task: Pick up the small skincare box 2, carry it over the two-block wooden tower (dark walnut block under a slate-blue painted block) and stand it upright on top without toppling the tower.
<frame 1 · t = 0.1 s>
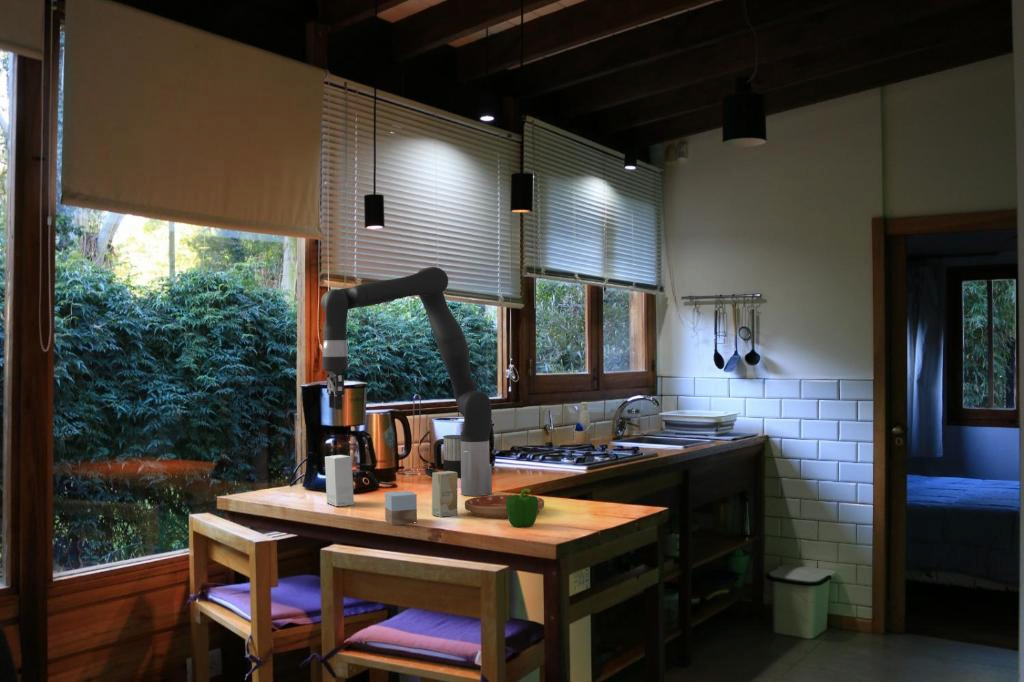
hand: (335, 408, 278), 29 cm above the worktop, fingers open, 8 cm apart
skincare box 2: (445, 515, 260), on the worktop
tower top: (400, 508, 251), point 4 cm above the worktop, touching tower base
saucer: (504, 513, 263), on the worktop
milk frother: (446, 478, 332), on the worktop
tower base: (401, 522, 251), on the worktop, touching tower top
bell pepper: (521, 526, 244), on the worktop
skincare box: (339, 505, 278), on the worktop
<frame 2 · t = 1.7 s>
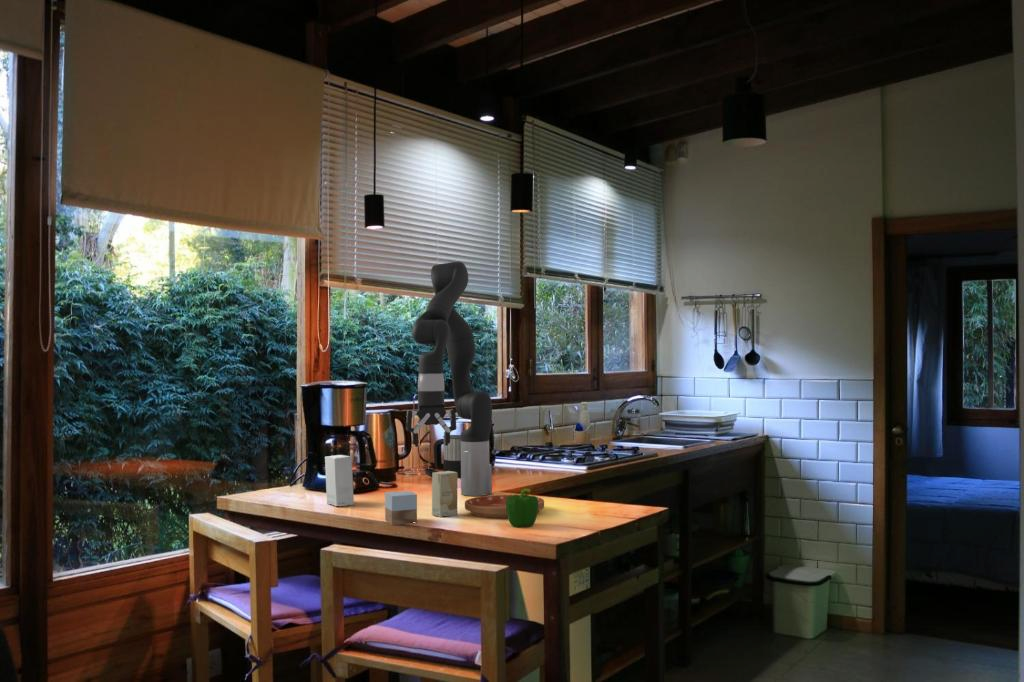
hand: (431, 446, 261), 19 cm above the worktop, fingers open, 8 cm apart
nothing on the worktop moved.
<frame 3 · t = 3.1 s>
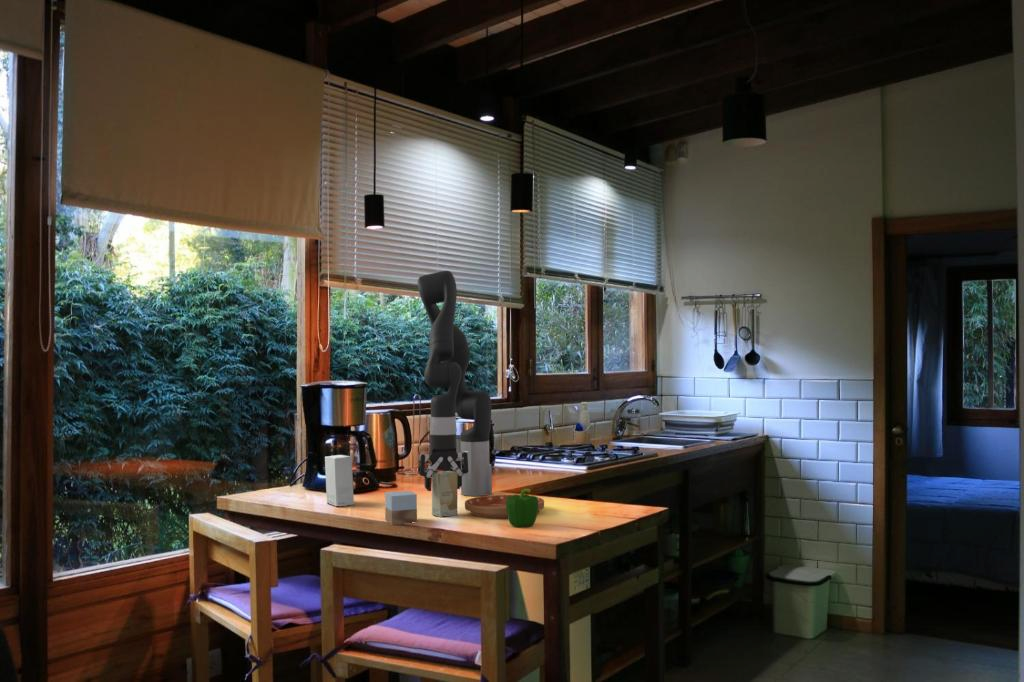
hand: (443, 489, 260), 7 cm above the worktop, fingers open, 8 cm apart
skincare box 2: (445, 515, 260), on the worktop, touching gripper
everything else where it was.
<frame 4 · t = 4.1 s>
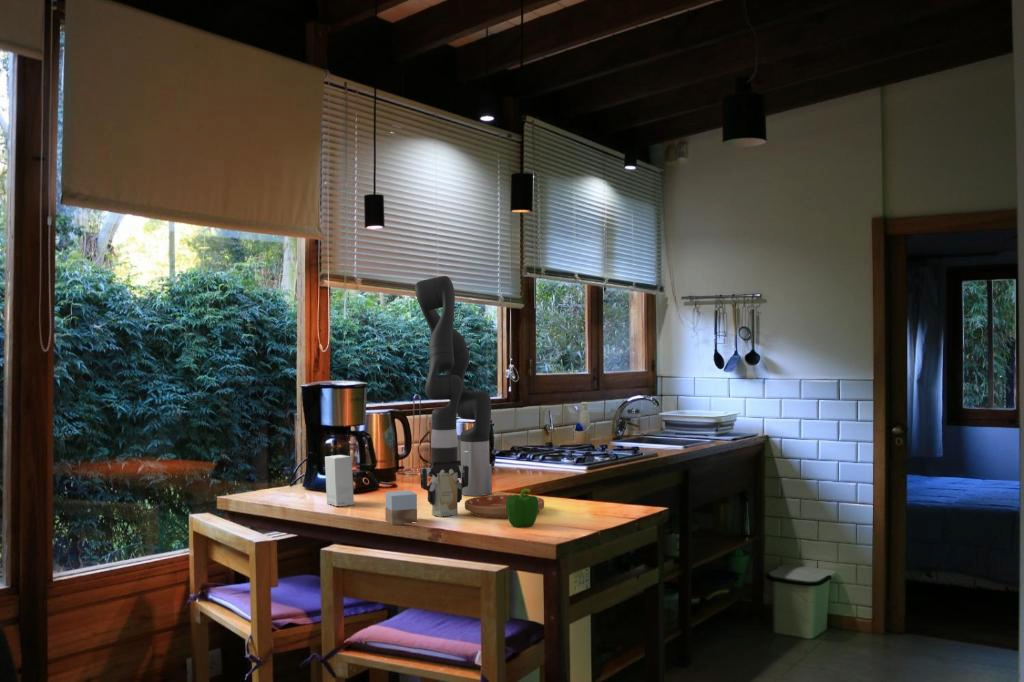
hand: (444, 503, 260), 3 cm above the worktop, fingers closed on skincare box 2, 7 cm apart
skincare box 2: (445, 515, 260), on the worktop, touching gripper
everything else where it was.
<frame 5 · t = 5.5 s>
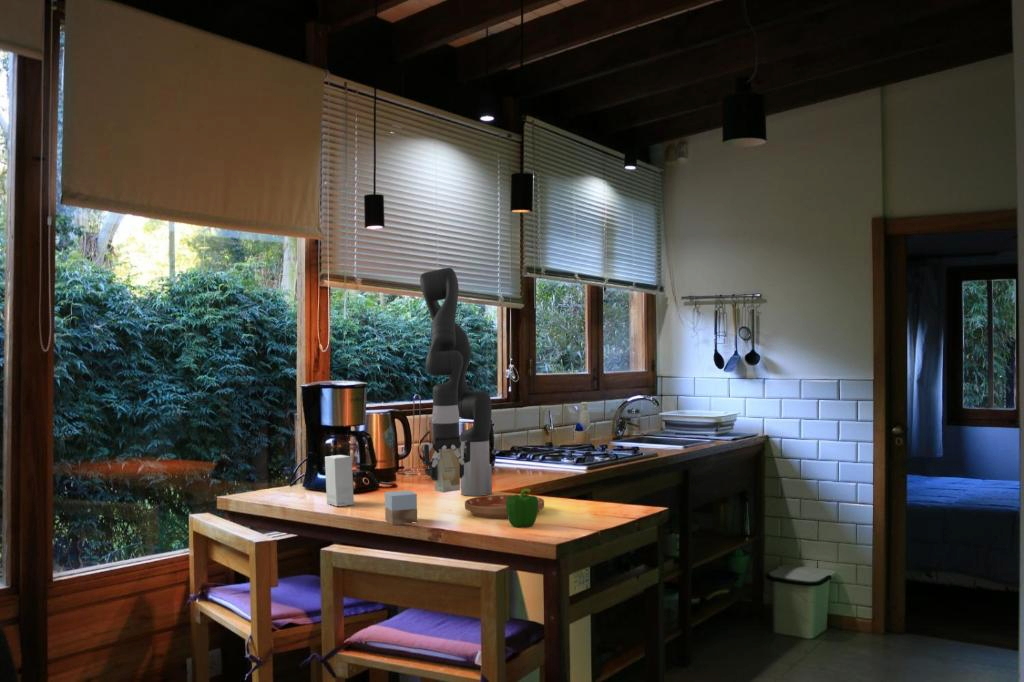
hand: (447, 478, 260), 10 cm above the worktop, fingers closed on skincare box 2, 7 cm apart
skincare box 2: (447, 491, 260), point 7 cm above the worktop, touching gripper
everything else where it was.
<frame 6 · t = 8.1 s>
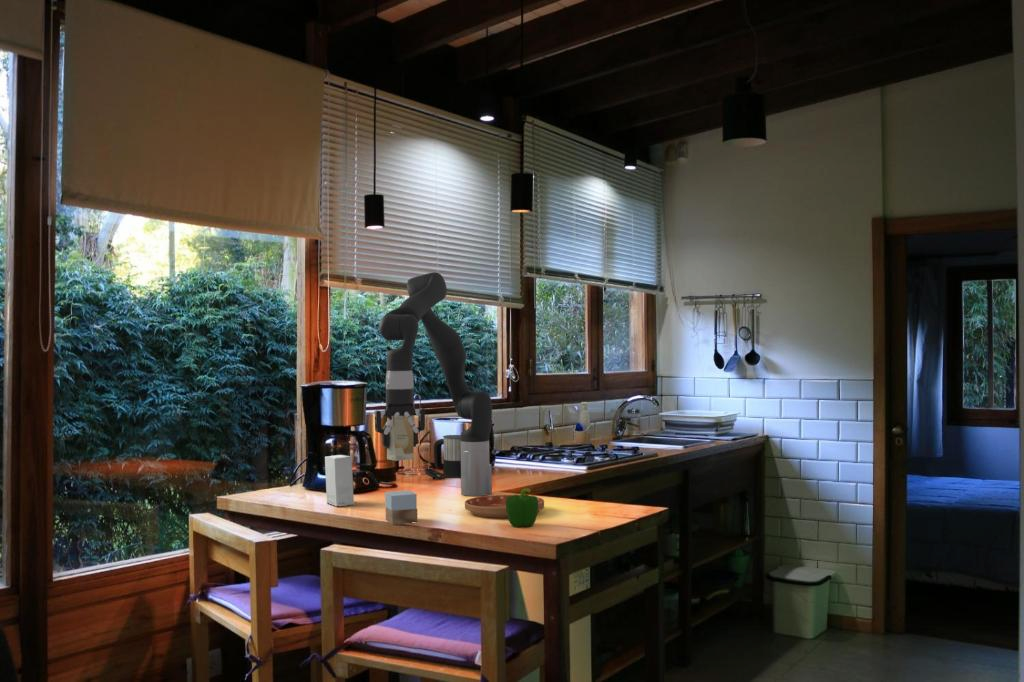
hand: (400, 447, 251), 20 cm above the worktop, fingers closed on skincare box 2, 7 cm apart
skincare box 2: (400, 460, 251), point 17 cm above the worktop, touching gripper
everything else where it was.
when the fingers open (12 cm above the worktop, at t = 10.5 s): skincare box 2 drops 1 cm, resting on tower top.
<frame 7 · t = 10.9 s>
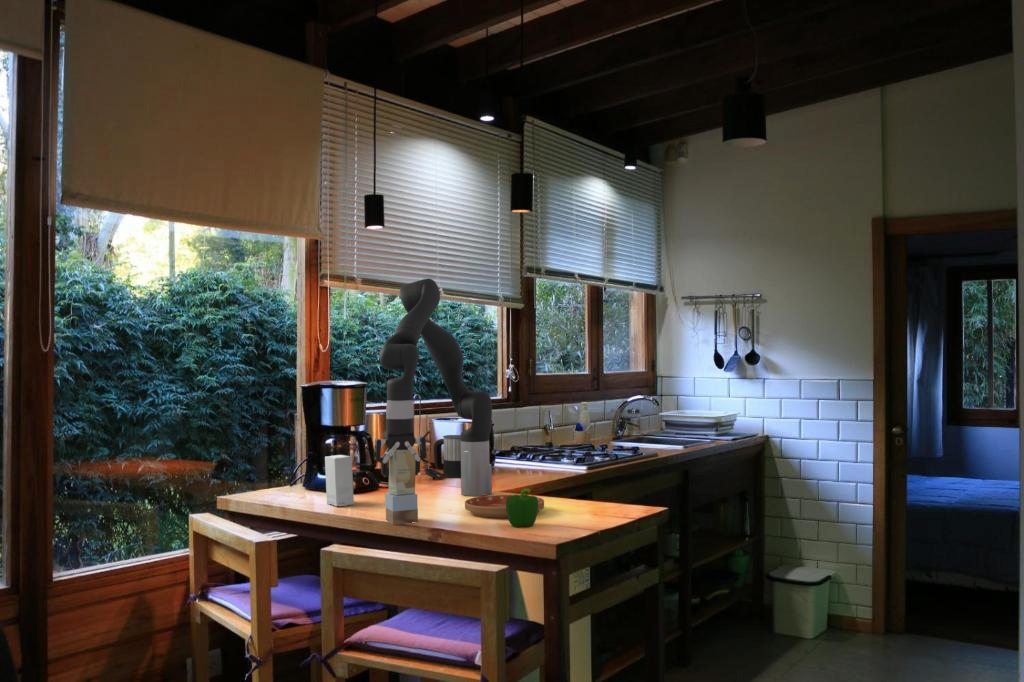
hand: (400, 475, 251), 13 cm above the worktop, fingers open, 8 cm apart
skincare box 2: (402, 494, 251), point 7 cm above the worktop, touching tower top
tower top: (401, 508, 251), point 4 cm above the worktop, touching skincare box 2, tower base
everything else where it was.
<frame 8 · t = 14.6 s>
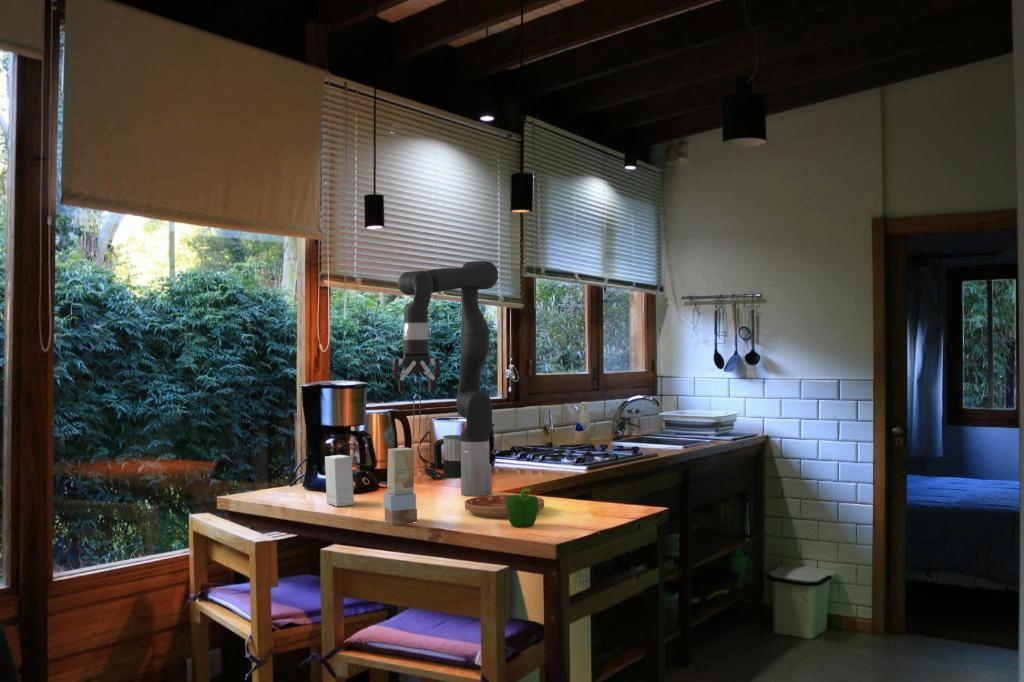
hand: (416, 393, 271), 34 cm above the worktop, fingers open, 8 cm apart
nothing on the worktop moved.
at the end: skincare box 2 inside the target area on the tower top (0.4 cm from its centre), point 3.9 cm above the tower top's base; skincare box 2 tilted 2°; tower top moved 0.4 cm from its start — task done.
